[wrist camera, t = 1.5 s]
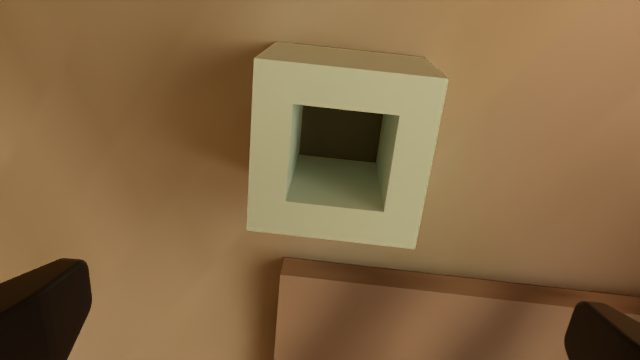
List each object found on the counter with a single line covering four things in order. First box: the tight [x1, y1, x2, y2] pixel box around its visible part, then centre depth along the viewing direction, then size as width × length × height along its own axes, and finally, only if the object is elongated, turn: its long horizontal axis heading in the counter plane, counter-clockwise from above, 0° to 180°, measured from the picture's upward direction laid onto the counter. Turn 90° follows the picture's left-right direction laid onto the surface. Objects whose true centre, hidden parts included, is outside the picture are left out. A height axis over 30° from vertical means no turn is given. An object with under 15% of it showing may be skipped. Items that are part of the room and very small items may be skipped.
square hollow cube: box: [246, 42, 449, 249], centre depth 18 cm, size 6×6×5 cm
